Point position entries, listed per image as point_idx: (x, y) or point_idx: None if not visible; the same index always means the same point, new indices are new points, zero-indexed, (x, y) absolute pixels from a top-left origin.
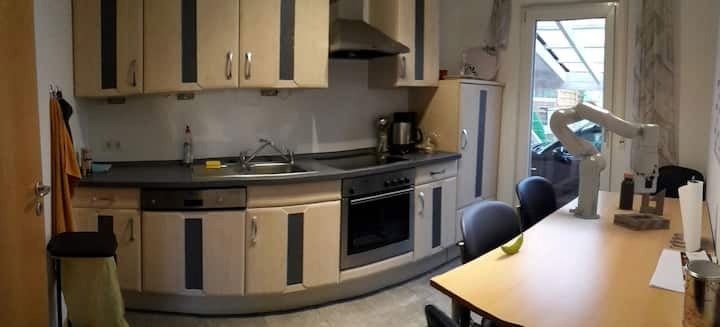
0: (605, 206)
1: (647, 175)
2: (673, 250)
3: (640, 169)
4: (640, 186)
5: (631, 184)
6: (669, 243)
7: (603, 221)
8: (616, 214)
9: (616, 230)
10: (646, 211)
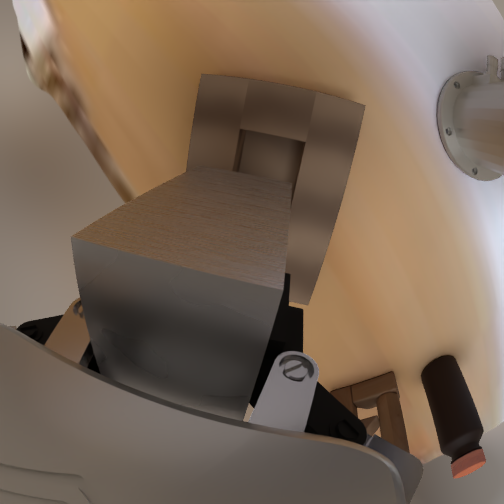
0: (488, 340)
1: (81, 357)
2: (38, 43)
3: (149, 478)
4: (177, 181)
5: (450, 439)
6: (68, 77)
7: (397, 99)
8: (359, 114)
9: (249, 10)
10: (375, 382)
